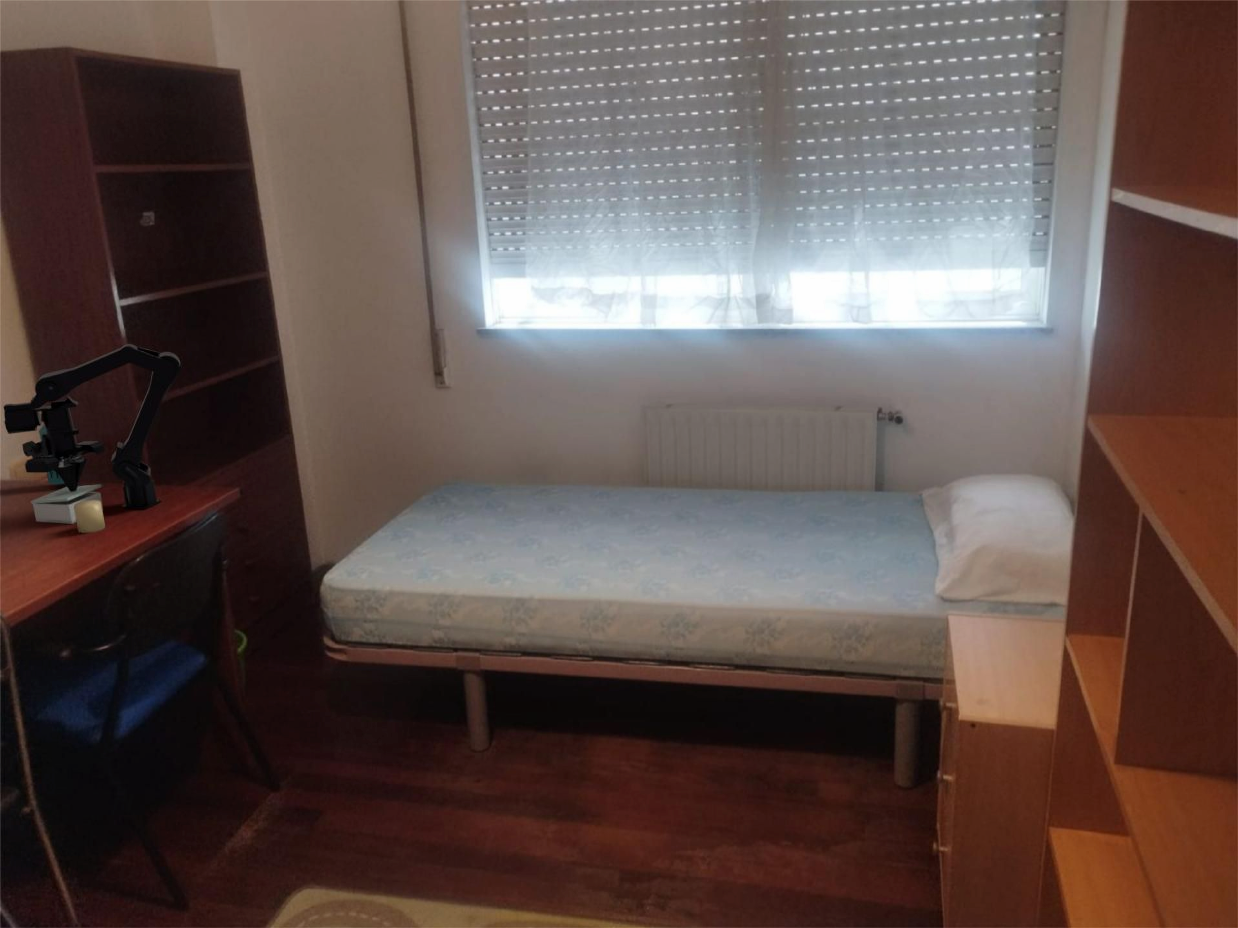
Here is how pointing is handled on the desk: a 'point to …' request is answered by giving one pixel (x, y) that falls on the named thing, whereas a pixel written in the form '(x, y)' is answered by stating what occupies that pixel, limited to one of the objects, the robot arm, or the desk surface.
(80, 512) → the beige rounded cylinder
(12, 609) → the desk surface
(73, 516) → the storage box
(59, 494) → the box lid
